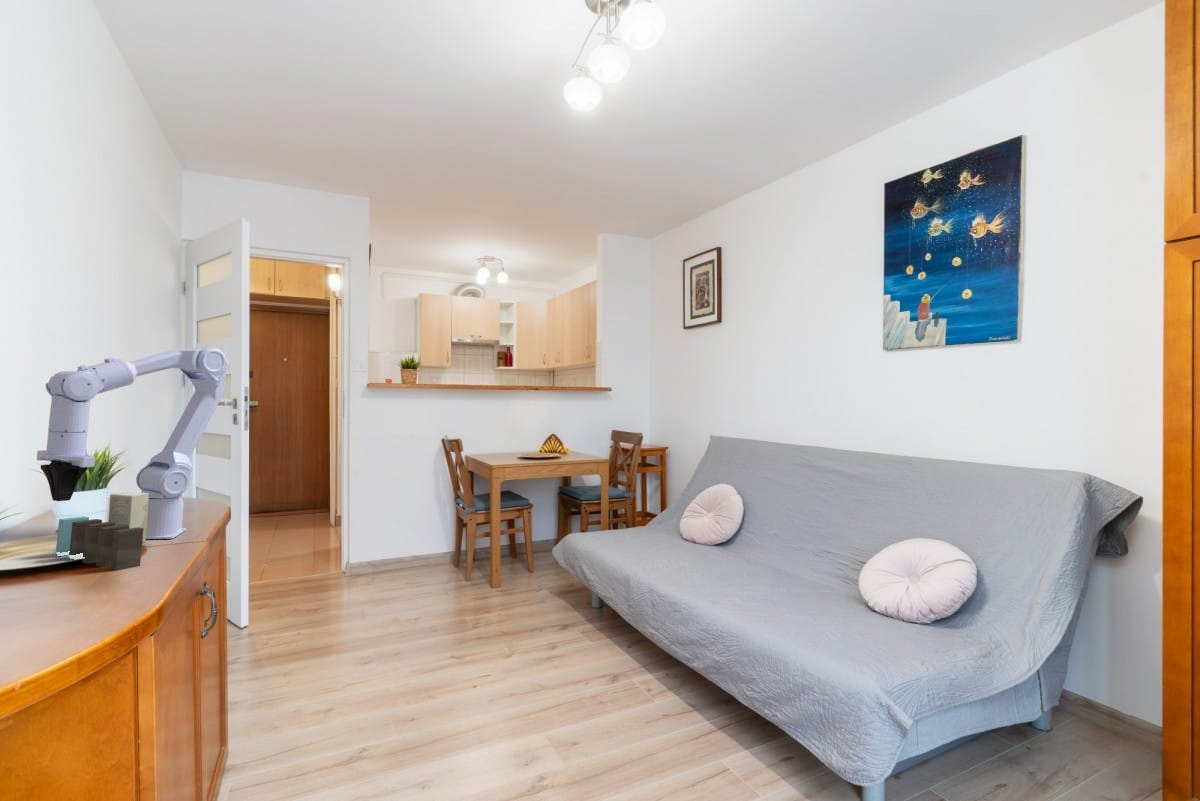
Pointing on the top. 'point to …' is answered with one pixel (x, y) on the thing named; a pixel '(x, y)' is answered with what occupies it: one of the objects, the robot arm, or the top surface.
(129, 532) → the tile
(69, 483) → the robot arm
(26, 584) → the top surface
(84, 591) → the top surface
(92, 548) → the tile
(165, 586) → the top surface
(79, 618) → the top surface
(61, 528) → the lead tile
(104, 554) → the tile
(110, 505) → the box
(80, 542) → the tile
